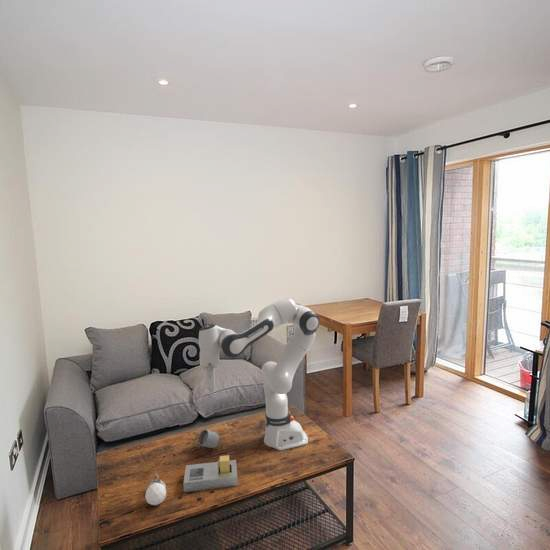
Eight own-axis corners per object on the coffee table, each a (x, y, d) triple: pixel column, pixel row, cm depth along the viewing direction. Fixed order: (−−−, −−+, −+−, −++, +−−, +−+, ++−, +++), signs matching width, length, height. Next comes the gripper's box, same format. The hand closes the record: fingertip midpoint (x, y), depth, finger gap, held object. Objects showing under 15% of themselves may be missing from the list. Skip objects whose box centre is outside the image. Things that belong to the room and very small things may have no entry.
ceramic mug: (213, 452, 185) (222, 441, 184) (199, 449, 181) (209, 437, 179) (208, 435, 194) (217, 424, 193) (195, 431, 189) (204, 420, 188)
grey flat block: (236, 468, 169) (236, 459, 169) (237, 485, 158) (237, 476, 157) (186, 473, 166) (185, 465, 166) (183, 492, 154) (183, 482, 154)
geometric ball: (168, 506, 146) (167, 487, 146) (146, 512, 143) (145, 493, 142) (165, 494, 153) (164, 475, 152) (145, 500, 150) (143, 481, 149)
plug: (229, 474, 165) (229, 455, 164) (230, 480, 161) (229, 460, 160) (218, 475, 164) (217, 456, 163) (218, 481, 160) (217, 461, 159)
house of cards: (140, 503, 149) (138, 485, 148) (144, 489, 157) (143, 471, 157) (163, 500, 150) (162, 482, 149) (166, 486, 159) (165, 469, 158)
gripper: (216, 367, 160) (218, 398, 162) (216, 352, 180) (217, 380, 182) (201, 368, 159) (203, 400, 161) (203, 354, 179) (204, 381, 181)
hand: (211, 389), depth 171 cm, fingers open, 8 cm apart
